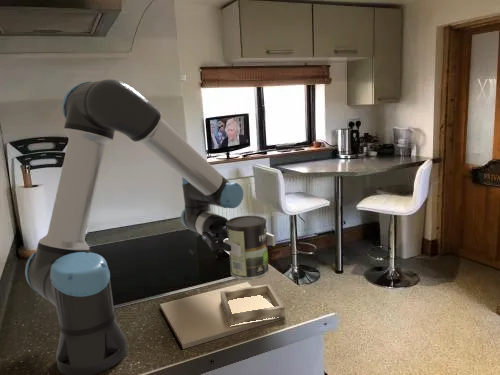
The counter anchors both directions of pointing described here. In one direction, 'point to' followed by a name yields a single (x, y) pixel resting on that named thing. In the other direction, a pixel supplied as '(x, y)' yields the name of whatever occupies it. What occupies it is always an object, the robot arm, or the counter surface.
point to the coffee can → (248, 247)
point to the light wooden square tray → (254, 314)
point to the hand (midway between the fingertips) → (257, 245)
